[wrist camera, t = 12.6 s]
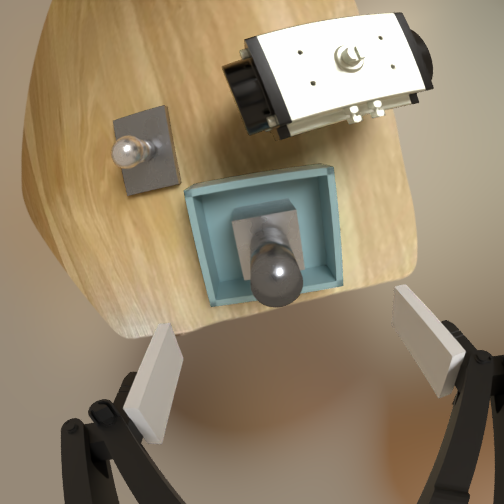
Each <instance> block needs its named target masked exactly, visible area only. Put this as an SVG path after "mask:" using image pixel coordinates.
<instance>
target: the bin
mask: <svg viewBox="0 0 504 504" xmlns="http://www.w3.org/2000/svg"><path fill="white" fill-rule="evenodd" d="M184 195H185V200H186V205H187V209H188V214H189V218H190V223H191V227H192V232H193V236H194V241H195V245H196V249H197V253H198V258H199V262H200V266H201V270H202V274H203V278H204V282H205V286H206V290H207V294H208V298H209V302H210V306H211V307H215V306H222V305H229V304H236V303H243V302H250V301H257V299H256V298H255V297H254V295H253V294H252V291H251V286H250V280H244V277H243V272H242V268H241V263H240V259H239V254H238V249H237V245H236V240H235V235H234V231H233V226H232V217H233V213H234V209H235V208H236V207H242V206H247V205H252V204H258V203H263V202H269V201H275V200H280V199H286V198H288V199H289V200H290V202H291V203H292V204H293V206H294V207H295V208H296V210H297V216H298V223H299V230H300V237H301V244H302V251H303V259H304V266H305V270H300V271H301V274H302V276H303V288H302V291H301V293H306V292H312V291H318V290H323V289H329V288H335V287H340V286H343V268H342V251H341V236H340V224H339V212H338V202H337V192H336V183H335V175H334V167H333V166H329V165H324V164H313V165H305V166H298V167H290V168H283V169H276V170H270V171H263V172H257V173H251V174H245V175H239V176H233V177H228V178H222V179H217V180H211V181H206V182H201V183H196V184H193V185H191V186H190V187H188V188H187V189H185V190H184Z"/></svg>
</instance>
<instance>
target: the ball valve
mask: <svg viewBox="0 0 504 504" xmlns="http://www.w3.org/2000/svg"><path fill="white" fill-rule="evenodd" d="M244 44H245V49H242V50H240V51H239V53H240V55H241V58H242V59H241V60H238V61H235V62H232V63H230V64H227V65H224V66H222V70H223V73H224V76H225V78H226V81H227V83H228V86H229V88H230V91H231V93H232V96H233V99H234V101H235V104H236V106H237V109H238V111H239V114H240V116H241V119H242V121H243V124H244V126H245V129H246V131H247V133H248V135H249V136H250V135H253V134H256V133H259V132H262V131H266V132H267V131H270V133H272V134H273V137H274V139H275V141H278V140H282V139H285V138H288V137H291V136H294V135H297V134H300V133H303V132H307V131H310V130H314V129H317V128H321V127H324V126H328V125H331V124H335V123H338V122H341V121H345V120H347V121H348V124H353V123H357V122H361V121H363V118H362V116H363V115H367V114H371V117H372V118H376V117H380V116H384V115H385V111H384V110H388V109H393V108H397V107H402V106H406V105H411V104H416V103H419V100H418V97H417V93H418V92H422V91H426V90H431V89H433V85H432V82H431V80H432V76H433V65H432V59H431V56H430V53H429V50H428V48H427V46H426V45H425V43H424V41H423V40H422V39H421V38H420V36H419V35H418V34H417V33H415V32H414V31H413V30H411V29H410V28H409V26H408V24H407V21H406V19H405V17H404V15H403V13H382V14H369V15H359V16H350V17H342V18H336V19H329V20H323V21H318V22H312V23H307V24H302V25H297V26H293V27H289V28H284V29H280V30H276V31H272V32H269V33H265V34H261V35H258V36H254V37H251V38H248V39H244Z"/></svg>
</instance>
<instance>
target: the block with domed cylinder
mask: <svg viewBox="0 0 504 504" xmlns="http://www.w3.org/2000/svg"><path fill="white" fill-rule="evenodd" d="M232 226H233V231H234V235H235V240H236V245H237V249H238V254H239V259H240V263H241V268H242V272H243V277H244V280H250V286H251V291H252V294H253V295H254V297H255V298H256V299H257V300H258V301H259V302H260V303H262V304H263V305H266V306H269V307H283V306H286V305H288V304H290V303H292V302H293V301H294V300H296V299H297V298H298V296H299V295H300V293H301V291H302V288H303V276H302V274H301V271H300V270H305V266H304V259H303V251H302V244H301V237H300V230H299V223H298V216H297V210H296V208H295V207H294V206H293V204H292V203H291V202H290V200H289V199H288V198H286V199H280V200H275V201H269V202H263V203H258V204H252V205H247V206H242V207H236V208H235V209H234V213H233V217H232Z"/></svg>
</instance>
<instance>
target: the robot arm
mask: <svg viewBox="0 0 504 504" xmlns="http://www.w3.org/2000/svg"><path fill="white" fill-rule="evenodd" d="M392 326H393V328H394V329H395V331H396V332H397V334H398V335H399V337H400V338H401V340H402V341H403V343H404V344H405V346H406V347H407V349H408V350H409V352H410V353H411V355H412V356H413V358H414V360H415V361H416V363H417V364H418V366H419V367H420V369H421V371H422V372H423V374H424V375H425V377H426V378H427V380H428V382H429V383H430V385H431V387H432V388H433V390H434V392H435V393H436V395H437V397H438V398H441V397H444V396H446V395H449V394H451V392H452V390H453V387H454V385H455V386H456V388H457V389H458V391H457V394H456V396H455V399H454V401H453V409H452V412H451V416H450V419H449V423H448V426H447V429H446V433H445V436H444V439H443V442H442V444H441V447H440V450H439V453H438V456H437V459H436V461H435V463H434V466H433V469H432V471H431V473H430V476H429V478H428V481H427V483H426V485H425V487H424V490H423V492H422V494H421V496H420V498H419V500H418V502H417V504H468V502H469V499H470V494H469V493H468V490H469V487H470V484H471V480H472V477H473V474H474V471H475V467H476V464H477V460H478V456H479V452H480V448H481V444H482V440H483V435H484V430H485V425H486V420H487V414H488V408H489V401H490V400H491V407H492V418H493V429H494V446H495V485H494V486H495V487H494V503H493V504H504V355H500V356H492V355H491V354H490V353H488V352H487V351H484V350H477V349H476V348H475V347H474V346H473V345H472V344H471V343H470V341H469V340H468V339H467V338H466V337H465V336H463V333H462V332H461V331H459V329H458V328H457V327H456V326H455V325H454V324H453V323H451V322H449V321H447V320H445V321H442V322H440V321H439V320H438V319H437V317H436V316H435V315H434V314H433V313H432V312H431V311H430V310H429V309H428V308H427V307H426V305H424V303H423V302H422V301H421V300H420V299H419V298H418V297H417V296H416V295H415V294H414V293H413V292H412V291H411V289H410V288H409V287H407V285H405V284H404V285H400V286H395V287H394V301H393V314H392ZM182 363H183V356H182V353H181V351H180V348H179V346H178V343H177V340H176V337H175V334H174V332H173V329H172V326H171V323H163V324H158V326H157V328H156V330H155V333H154V335H153V337H152V340H151V342H150V344H149V346H148V349H147V351H146V354H145V356H144V358H143V360H142V363H141V365H140V368H139V370H138V372H130V373H129V374H128V375H127V376H126V377H125V378H124V380H123V382H122V385H121V387H120V389H119V393H117V396H116V398H115V400H114V403H112V402H111V401H110V400H106V399H102V400H99V401H96V402H95V403H93V404H92V405H91V407H90V408H89V411H88V414H89V416H90V418H91V419H92V420H93V422H94V423H90V424H83V422H82V421H81V420H80V419H77V418H74V419H70V420H68V421H66V422H65V423H64V424H63V426H62V428H61V461H62V478H63V490H64V500H65V504H119V501H118V496H117V493H116V488H115V484H114V479H113V475H112V470H111V465H110V459H113V460H114V462H115V464H116V465H117V468H118V469H119V471H120V473H121V475H122V476H123V478H124V480H125V481H126V484H127V485H128V487H129V489H130V490H131V492H132V494H133V495H134V496H135V498H136V500H137V501H138V503H139V504H186V503H185V502H184V501H183V499H182V498H181V497H180V496H179V495H178V493H177V492H176V491H175V490H174V488H173V487H172V486H171V485H170V483H169V482H168V481H167V479H166V478H165V477H164V475H163V474H162V473H161V471H160V470H159V469H158V467H157V466H156V464H155V463H154V461H153V460H152V459H151V457H150V456H149V454H148V453H147V451H146V450H145V448H144V447H143V445H142V444H141V442H142V438H144V439H145V441H146V442H147V443H148V444H162V442H163V438H164V434H165V430H166V426H167V421H168V417H169V413H170V409H171V405H172V401H173V397H174V393H175V389H176V386H177V382H178V378H179V374H180V370H181V366H182Z"/></svg>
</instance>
